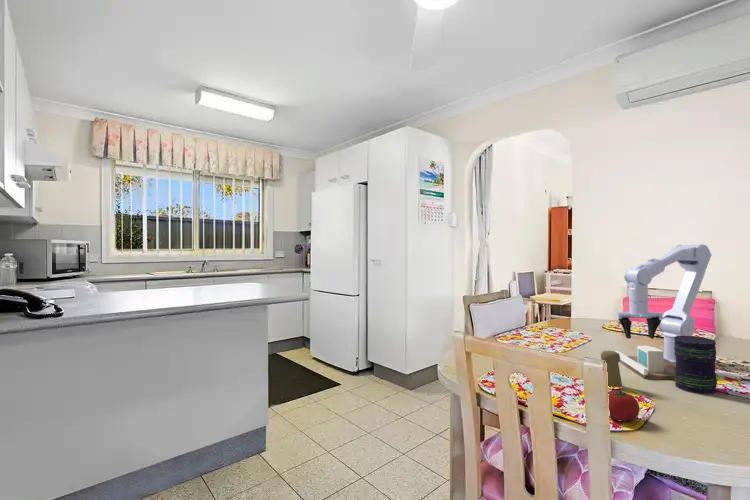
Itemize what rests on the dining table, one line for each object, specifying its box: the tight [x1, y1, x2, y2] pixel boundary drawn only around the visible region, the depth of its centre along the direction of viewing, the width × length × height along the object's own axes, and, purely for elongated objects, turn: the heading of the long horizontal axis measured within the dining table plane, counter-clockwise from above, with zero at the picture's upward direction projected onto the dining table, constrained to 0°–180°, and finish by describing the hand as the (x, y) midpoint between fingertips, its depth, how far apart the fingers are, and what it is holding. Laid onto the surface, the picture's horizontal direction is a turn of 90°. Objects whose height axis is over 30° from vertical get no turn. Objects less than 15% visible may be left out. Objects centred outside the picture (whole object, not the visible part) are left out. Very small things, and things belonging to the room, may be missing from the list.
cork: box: [600, 350, 623, 387], centre depth 119 cm, size 6×6×11 cm
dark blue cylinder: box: [674, 335, 718, 396], centre depth 115 cm, size 10×10×15 cm
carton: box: [636, 345, 664, 372], centre depth 131 cm, size 5×7×7 cm
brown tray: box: [614, 350, 676, 381], centre depth 134 cm, size 16×22×3 cm
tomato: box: [608, 390, 641, 422], centre depth 98 cm, size 8×8×7 cm
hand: (639, 338), depth 139 cm, fingers open, 7 cm apart
